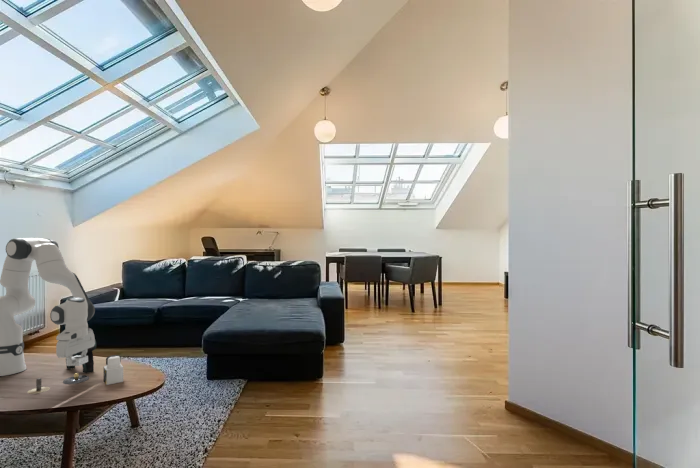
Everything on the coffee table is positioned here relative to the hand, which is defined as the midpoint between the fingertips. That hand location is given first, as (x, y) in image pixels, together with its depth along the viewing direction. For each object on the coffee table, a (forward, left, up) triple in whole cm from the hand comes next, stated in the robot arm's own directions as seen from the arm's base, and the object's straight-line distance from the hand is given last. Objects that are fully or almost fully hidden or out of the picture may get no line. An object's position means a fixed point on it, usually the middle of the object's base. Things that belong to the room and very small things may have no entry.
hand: (77, 361), depth 189 cm
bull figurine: (-11, +16, -10) cm, 22 cm away
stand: (-7, -13, -10) cm, 18 cm away
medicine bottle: (+17, +2, -10) cm, 19 cm away
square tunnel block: (0, 0, -1) cm, 1 cm away
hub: (0, 0, -10) cm, 10 cm away
